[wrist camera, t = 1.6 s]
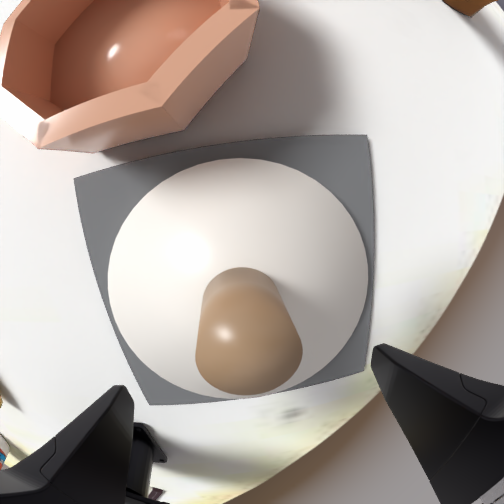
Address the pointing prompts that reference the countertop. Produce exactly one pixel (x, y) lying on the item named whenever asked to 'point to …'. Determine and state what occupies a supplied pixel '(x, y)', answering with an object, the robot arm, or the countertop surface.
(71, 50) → the bowl
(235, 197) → the lid
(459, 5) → the pancake mix bag
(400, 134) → the countertop surface
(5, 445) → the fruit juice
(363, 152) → the mat
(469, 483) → the robot arm
